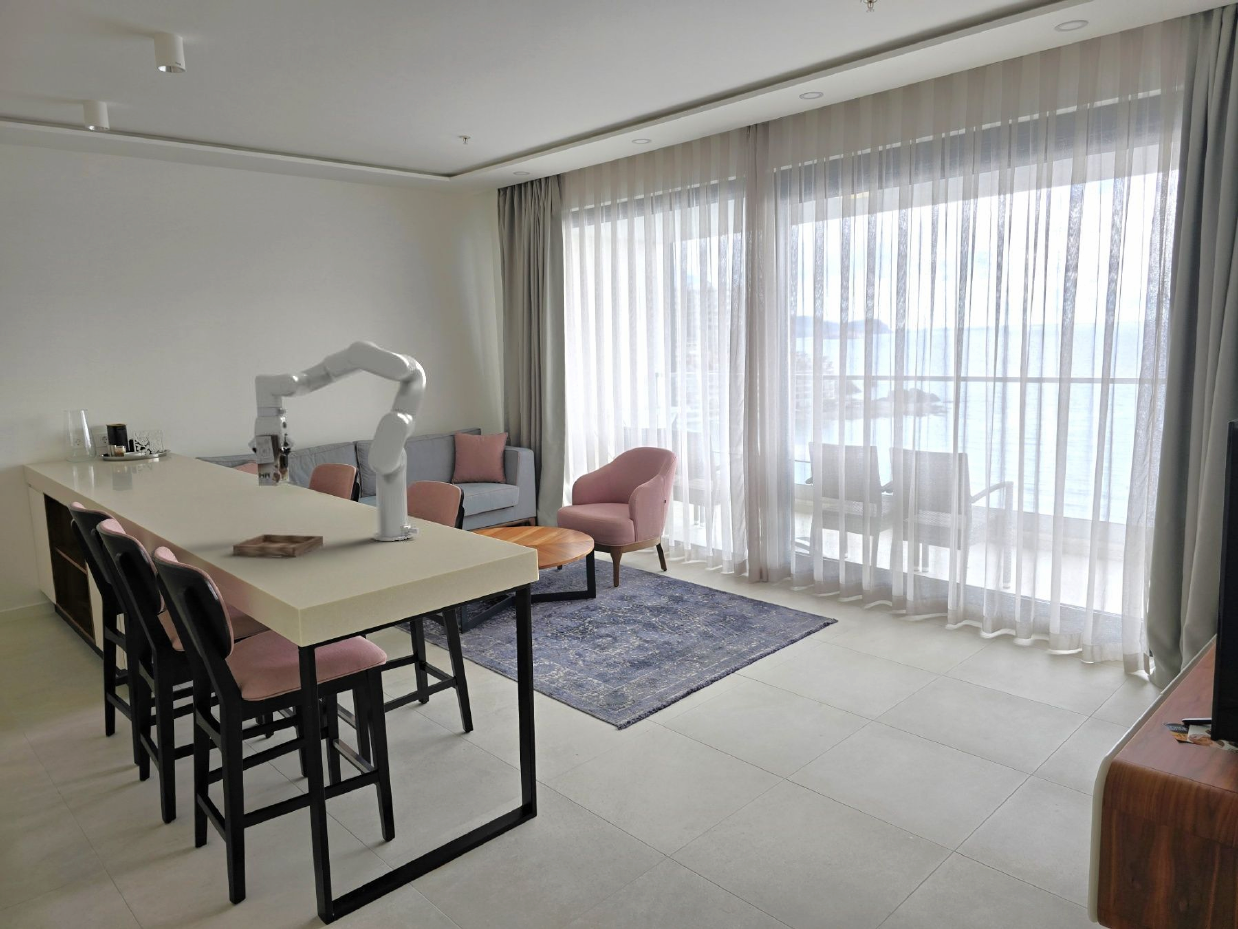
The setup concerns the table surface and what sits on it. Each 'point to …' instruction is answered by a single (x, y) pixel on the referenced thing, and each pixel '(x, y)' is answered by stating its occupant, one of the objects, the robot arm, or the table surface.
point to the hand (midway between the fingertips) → (273, 467)
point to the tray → (278, 545)
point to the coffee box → (270, 462)
